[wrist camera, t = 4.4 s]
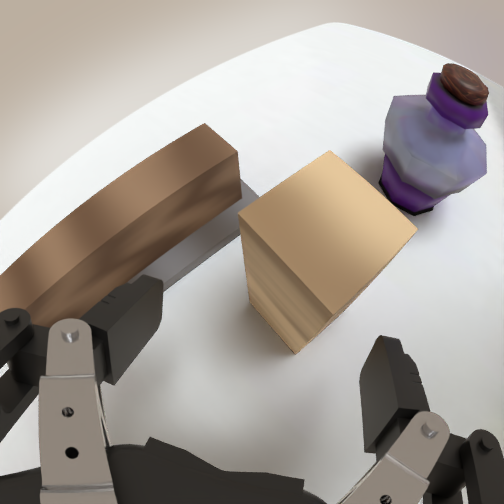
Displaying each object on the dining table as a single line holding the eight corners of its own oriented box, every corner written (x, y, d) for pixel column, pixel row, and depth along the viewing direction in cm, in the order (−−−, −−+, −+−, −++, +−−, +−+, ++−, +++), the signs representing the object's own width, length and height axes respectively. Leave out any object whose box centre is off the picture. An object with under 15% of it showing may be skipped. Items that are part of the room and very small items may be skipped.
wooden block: (300, 260, 22) (329, 149, 12) (346, 308, 20) (418, 229, 10) (249, 302, 21) (237, 212, 10) (295, 354, 19) (333, 314, 9)
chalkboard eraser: (213, 159, 26) (202, 104, 20) (268, 213, 23) (270, 159, 18) (24, 301, 21) (-23, 275, 15) (55, 375, 18) (1, 364, 13)
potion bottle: (464, 197, 24) (532, 105, 13) (419, 253, 22) (508, 150, 11) (397, 136, 26) (437, 33, 16) (340, 178, 24) (376, 50, 14)
